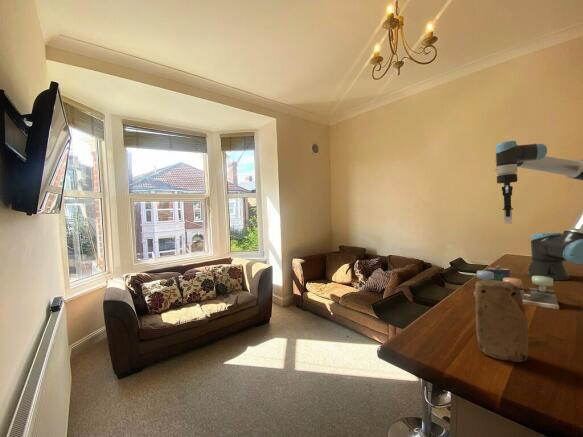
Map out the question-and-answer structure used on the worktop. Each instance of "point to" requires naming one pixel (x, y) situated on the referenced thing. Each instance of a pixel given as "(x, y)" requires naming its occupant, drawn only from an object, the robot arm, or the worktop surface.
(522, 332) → the block
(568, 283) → the worktop surface
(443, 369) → the worktop surface
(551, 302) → the button board
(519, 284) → the terracotta button
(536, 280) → the sage button
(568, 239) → the robot arm
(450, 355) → the worktop surface
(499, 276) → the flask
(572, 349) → the worktop surface
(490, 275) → the slate button
